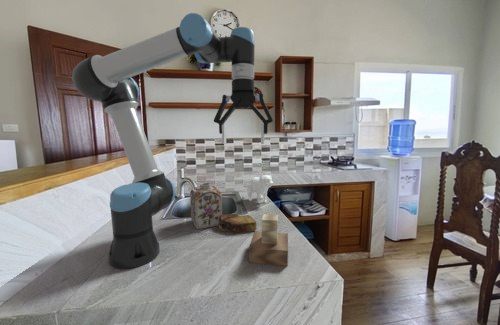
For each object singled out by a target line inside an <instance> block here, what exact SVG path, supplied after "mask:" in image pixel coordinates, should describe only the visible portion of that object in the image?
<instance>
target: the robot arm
mask: <svg viewBox="0 0 500 325" xmlns="http://www.w3.org/2000/svg"><path fill="white" fill-rule="evenodd" d="M193 55H194V56H195V58H196V61H197V62H198V63H200V64H217V63H218V64H219V63H221V64H222V63H231V80H232V81H231V95H226V94H223V95H222V98H221V99H222V100H221V103H220V105H219V108H218V109H217V112H216V114H215V116H214V118H213V122H214V123H216V124H218V133H219V134H221V142H222V144H227V124H225V123H226V122H227V120H228V119H229V118H230V117H231V115H232V113H234V112H235V110H236V109H240V110H241V109H246V110H247V109H251V110H252V111H253V112H254V113H255V114H256V116H257V117H258V118H259V120H261V122H262V124H261V130H260V132H261V134H260V138H261V139H260V140H261V143H260V144H261V145H265V135H267V134H268V132H269V131H268V127H269V126H268V125H269V124H271V123H273V121H274V120H273V117H272V116H271V113H270V111H269V109H268V106H267V105H266V103H265V98H264V95H263V93H259V94H255V80H254V79H255V33H254V31H253V30H252V29H251V28H249V27H247V26H246V27H245V26H238V27H234V28H233V29H232V30H231V32H230V36H226V37H224V36H223V37H218V35H217V34H216V33H215V30H213V28H212V26H211V24H210V23H209V22H208V21H207V20H206V19H205V17H204V16H202V14H199V13H196V12H190V13H188V14H186V15H185V16H184V17H183V18H182V19H180V23H179V26H177V27H175V28H172V29H170V30H167V31H165V32H162V33H159V34H157V35H154V36H152V37H150V38H147V39H145V40H142V41H139V42H137V43H134V44H132V45H129V46H127V47H124V48H122V49H121V48H120V49H119V50H117V51H114V52H111V53H108V54H106V55H104V56H102V55H99V54H95V55H92V56H90V57H87V58H84V59H83V60H82V61H80V62H79V63H77V65H75V67H74V68H73V71H72V73H71V75H72V76H71V77H72V78H71V80H72V83H73V86H74V88H75V89H76V91H77V92H78V93H79V94H80V95H81V96H83V97H85V98H86V99H87V100H91V101H96V102H100V103H101V105H102V109H103V111H104V112H105V113H106V114H107V115H108V114H109V115H110V116H111V119H112V121H113V123H114V124H113V125H114V127H115V130H116V131H117V134H118V137H119V139H120V143H121V145H122V148H123V150H124V153H125V155H126V158H127V160H128V164H129V166H130V169H131V171H132V174H133V176H134V177H133V180H132V182H131V183H128V184H123V185H120V186H118V187H116V188H114V189H113V190H112V191H111V193H110V196H109V208H110V215H111V226H112V236H113V237H112V241H111V244H110V245H111V246H110V248H109V252H108V255H107V256H108V263H109V265H110V266H111V267H113V268H116V269H131V268H133V269H134V268H136V267H140V266H143V265H146V264H148V263H150V262H152V261H153V260H155V259H156V258H157V257H158V256H159V254H160V252H161V248H160V247H161V245H160V244H159V240H158V239H157V236H156V233H155V232H154V228H153V226H154V225H153V224H154V223H153V217H154V215H157V214H158V213H160V212H161V211H162V210H165V209H167V208H168V207H169V206H170V205H171V204H172V203H173V201H174V200H175V199H176V198H175V197H176V193H177V192H176V187H175V185H174V184H175V183H173V181H172V180H170V179H168V178H166V174H165V172H164V171H162V170H160V169H159V168H158V166H157V163H156V160H155V157H154V155H153V152H152V149H151V147H150V144H149V141H148V139H147V136H146V133H145V130H144V128H143V125H142V122H141V120H140V117H139V114H138V112H137V111H138V110H137V109H138V107H139V101H138V100H139V96H140V89H139V86H138V83H137V82H136V81H135V79H133V78H132V77H135V76H138V75H140V74H143V73H146V72H148V71H151V70H154V69H155V68H159V67H161V66H164V65H167V64H170V63H172V62H175V61H177V60H180V59H184V58H185V57H188V56H193ZM255 100H257V101H258V102H260V105H261V107H262V108H263V111H264V114H265V116H266V117H267V119H266V118H265V116H264V114H262V112H260V110H259V109H258V108H257V107H256V106H255V104H254V102H255ZM230 101H231V102H232V104H230V107H229V108H228V109H227V110H226V112H225V113H224V111H225V109H226V106H227V104H228V103H229V102H230ZM223 113H224V114H223Z"/></svg>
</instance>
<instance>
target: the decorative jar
mask: <svg viewBox="0 0 500 325" xmlns="http://www.w3.org/2000/svg"><path fill="white" fill-rule="evenodd" d="M189 196H190V216H191V217H190V218H191V222H192V224H194V227H195V229H196V230H200V229H205V228H213V227H217V226H218V227H219V224H220V223H219V218H220V215H223V197H222V196H223V194H222V192H221V189H220V188H219V187H218V186H215V185H212V184H211V182H202V183H200V186H199V185H198V186H196V187H193V188H191V190H190V193H189Z"/></svg>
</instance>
